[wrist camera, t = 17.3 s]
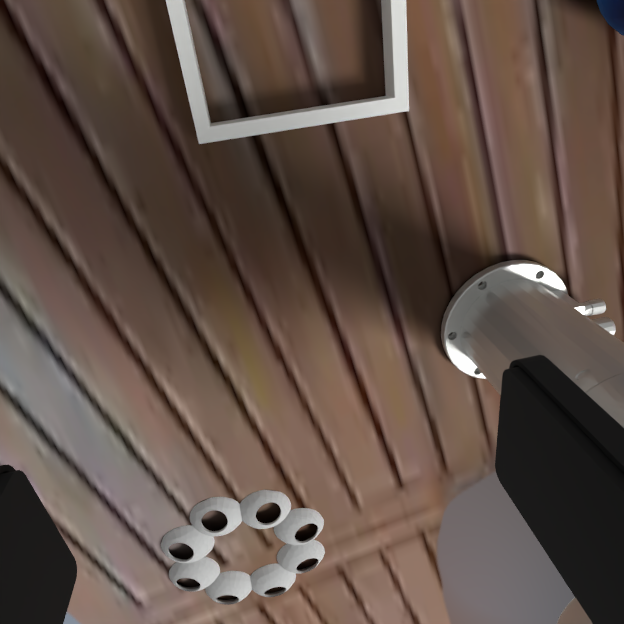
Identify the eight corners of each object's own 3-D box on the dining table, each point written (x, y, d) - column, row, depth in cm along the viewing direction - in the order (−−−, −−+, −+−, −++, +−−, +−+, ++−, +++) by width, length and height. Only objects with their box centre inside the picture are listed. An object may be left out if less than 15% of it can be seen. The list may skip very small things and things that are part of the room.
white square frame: (389, -160, 29) (401, -176, 27) (399, 108, 36) (409, 110, 34) (138, -132, 27) (131, -147, 25) (200, 139, 34) (199, 144, 33)
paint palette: (186, 473, 50) (185, 488, 48) (353, 500, 56) (357, 514, 54) (142, 590, 57) (139, 607, 55) (293, 603, 63) (295, 618, 61)
